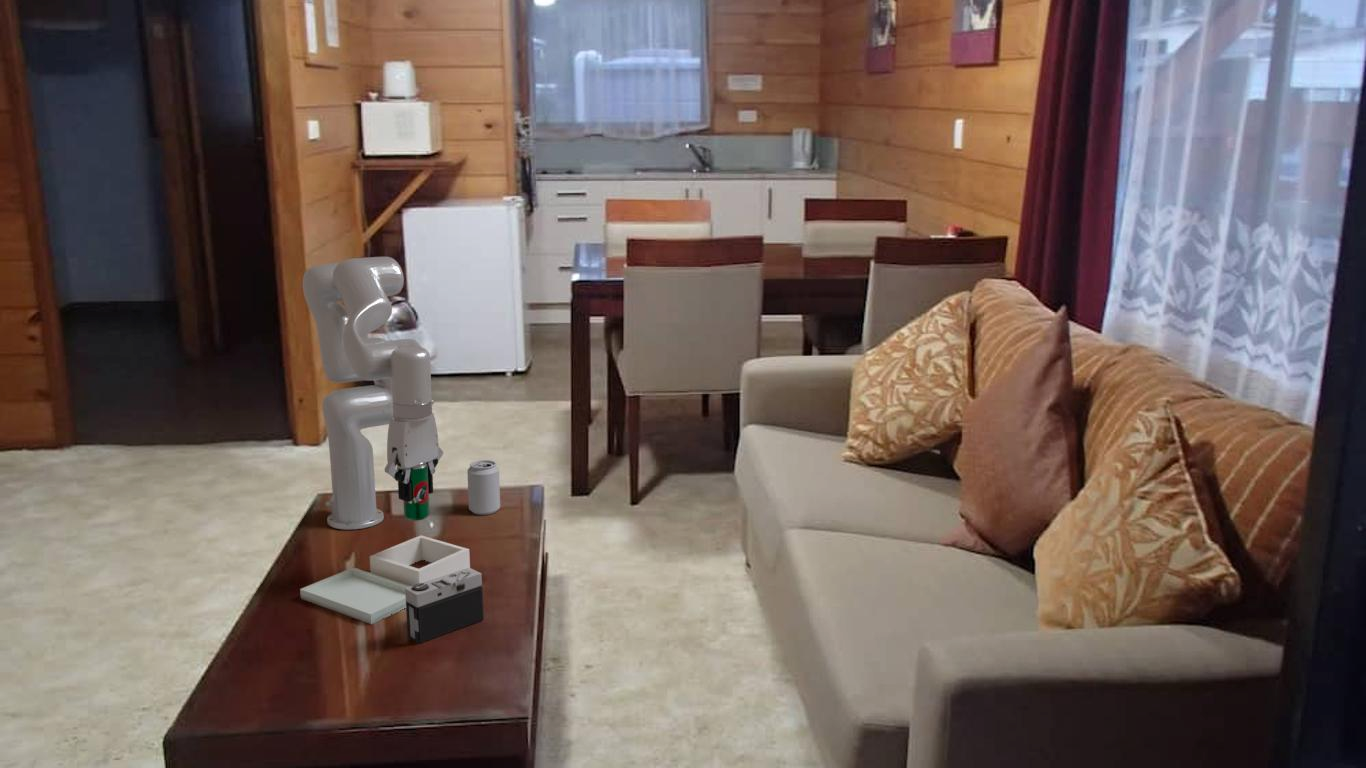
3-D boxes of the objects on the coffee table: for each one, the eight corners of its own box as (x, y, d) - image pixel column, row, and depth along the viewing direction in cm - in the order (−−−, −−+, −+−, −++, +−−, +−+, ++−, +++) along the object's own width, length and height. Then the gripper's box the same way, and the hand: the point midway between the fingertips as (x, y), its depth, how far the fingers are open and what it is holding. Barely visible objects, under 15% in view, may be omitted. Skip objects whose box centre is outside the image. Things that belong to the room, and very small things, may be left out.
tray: (300, 598, 209) (300, 589, 208) (353, 576, 219) (353, 567, 219) (371, 624, 198) (370, 614, 198) (423, 599, 209) (422, 590, 208)
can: (497, 516, 254) (495, 468, 252) (465, 515, 255) (463, 467, 252) (503, 505, 262) (501, 458, 259) (472, 505, 262) (470, 458, 259)
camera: (460, 607, 206) (458, 558, 204) (485, 621, 200) (483, 571, 198) (395, 630, 196) (392, 579, 194) (419, 645, 191) (416, 593, 188)
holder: (371, 579, 218) (369, 556, 217) (422, 557, 230) (420, 535, 228) (420, 595, 211) (418, 571, 210) (470, 571, 222) (469, 549, 221)
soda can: (433, 513, 220) (431, 457, 217) (424, 522, 215) (422, 465, 212) (409, 511, 220) (406, 456, 218) (400, 520, 216) (397, 464, 213)
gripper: (430, 397, 221) (433, 481, 226) (365, 415, 207) (370, 504, 212) (457, 403, 217) (459, 488, 222) (392, 422, 203) (397, 512, 208)
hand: (416, 495), depth 217 cm, fingers closed on soda can, 5 cm apart
